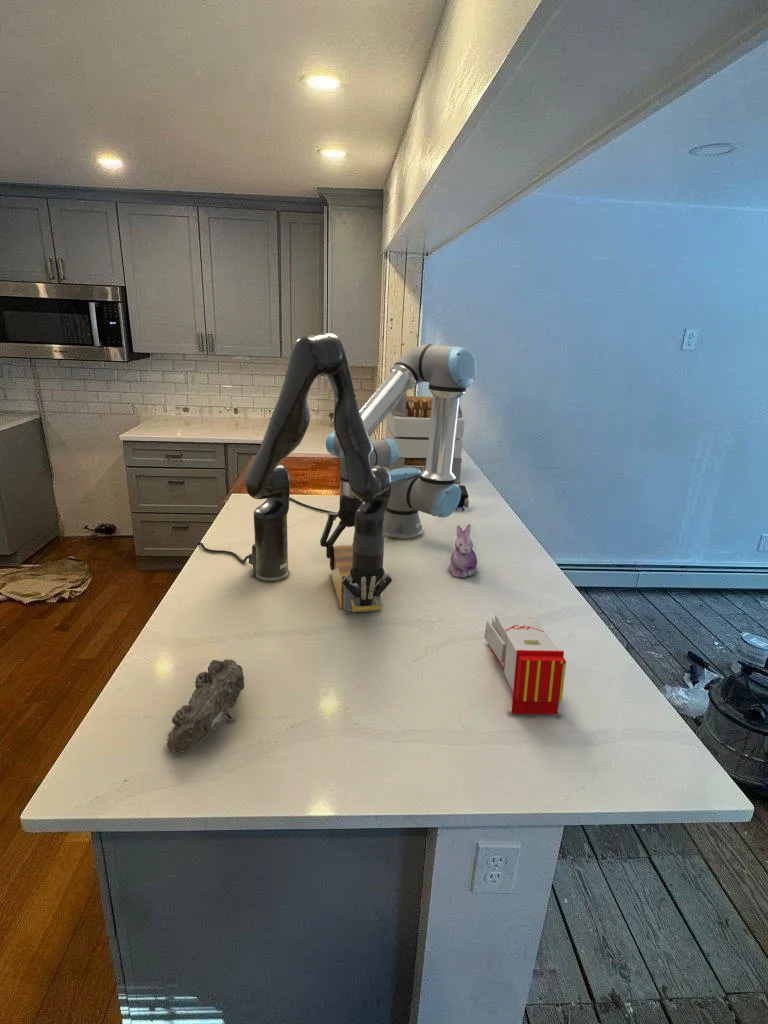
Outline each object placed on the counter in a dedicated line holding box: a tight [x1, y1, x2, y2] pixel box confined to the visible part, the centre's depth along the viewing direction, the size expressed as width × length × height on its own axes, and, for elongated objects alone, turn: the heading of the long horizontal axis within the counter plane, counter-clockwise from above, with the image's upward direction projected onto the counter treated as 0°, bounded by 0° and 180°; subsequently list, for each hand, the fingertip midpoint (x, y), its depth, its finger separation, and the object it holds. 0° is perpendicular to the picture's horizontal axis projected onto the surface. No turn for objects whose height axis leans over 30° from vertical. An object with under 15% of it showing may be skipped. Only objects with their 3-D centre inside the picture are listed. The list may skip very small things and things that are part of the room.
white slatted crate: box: [384, 392, 465, 484], centre depth 268 cm, size 34×33×41 cm
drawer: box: [343, 580, 382, 613], centre depth 152 cm, size 25×9×7 cm, turn 12°
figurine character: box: [455, 484, 470, 512], centre depth 229 cm, size 7×8×15 cm
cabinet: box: [330, 544, 381, 610], centre depth 158 cm, size 20×11×9 cm, turn 12°
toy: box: [484, 614, 567, 716], centre depth 124 cm, size 12×13×30 cm
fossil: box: [166, 658, 245, 754], centre depth 106 cm, size 22×10×15 cm
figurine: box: [449, 523, 478, 578], centre depth 170 cm, size 9×10×15 cm
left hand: (365, 610), depth 144 cm, fingers closed
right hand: (351, 566), depth 163 cm, fingers closed on cabinet, 11 cm apart
